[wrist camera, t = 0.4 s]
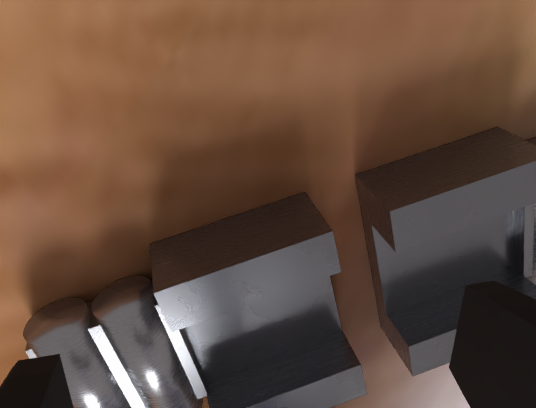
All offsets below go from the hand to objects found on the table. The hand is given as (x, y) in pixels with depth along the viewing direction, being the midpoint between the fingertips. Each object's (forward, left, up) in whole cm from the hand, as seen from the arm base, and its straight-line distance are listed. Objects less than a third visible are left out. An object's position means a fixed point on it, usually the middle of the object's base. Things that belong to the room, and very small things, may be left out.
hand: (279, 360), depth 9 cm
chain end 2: (-6, -11, -10) cm, 16 cm away
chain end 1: (-6, +2, -10) cm, 12 cm away
